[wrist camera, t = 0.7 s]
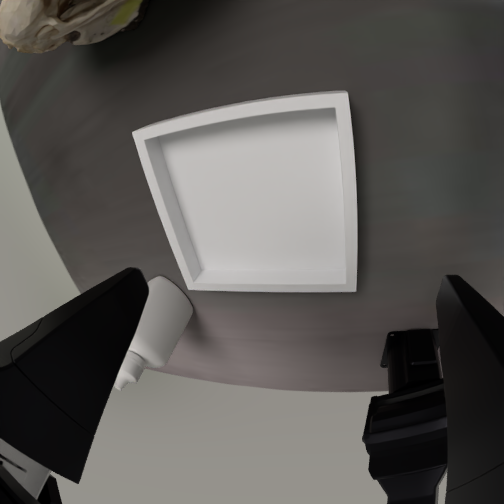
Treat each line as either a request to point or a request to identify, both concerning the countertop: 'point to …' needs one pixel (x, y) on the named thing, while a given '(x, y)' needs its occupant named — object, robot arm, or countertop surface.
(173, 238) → the tray
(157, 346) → the eye dropper bottle
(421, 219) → the countertop surface
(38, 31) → the animal skull replica
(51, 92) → the countertop surface
